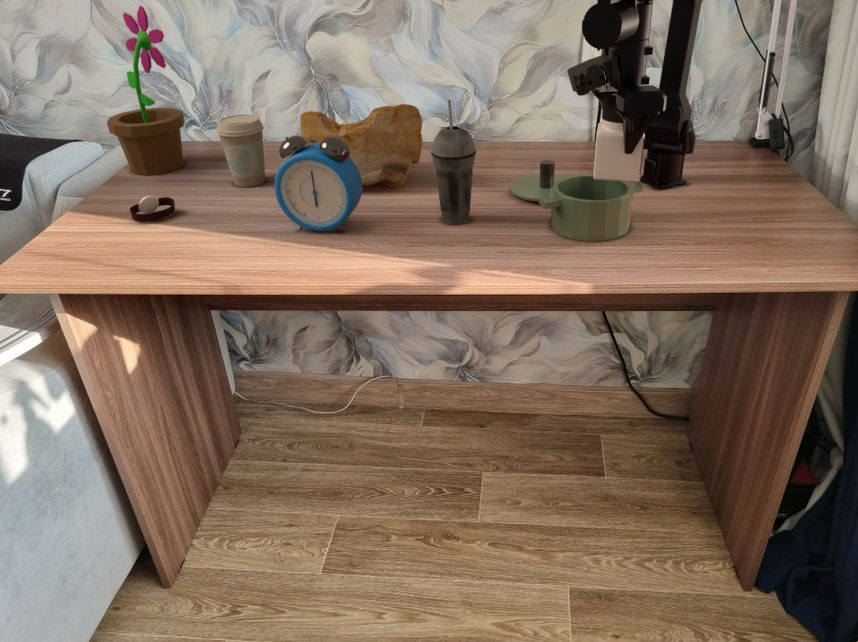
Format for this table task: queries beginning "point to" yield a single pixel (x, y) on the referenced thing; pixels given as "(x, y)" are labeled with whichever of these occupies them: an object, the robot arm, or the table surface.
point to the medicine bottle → (615, 148)
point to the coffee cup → (243, 148)
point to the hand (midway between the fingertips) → (619, 145)
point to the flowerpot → (147, 112)
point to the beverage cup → (454, 171)
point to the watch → (152, 209)
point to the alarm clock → (317, 183)
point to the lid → (536, 183)
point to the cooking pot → (590, 207)
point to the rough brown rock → (374, 141)
